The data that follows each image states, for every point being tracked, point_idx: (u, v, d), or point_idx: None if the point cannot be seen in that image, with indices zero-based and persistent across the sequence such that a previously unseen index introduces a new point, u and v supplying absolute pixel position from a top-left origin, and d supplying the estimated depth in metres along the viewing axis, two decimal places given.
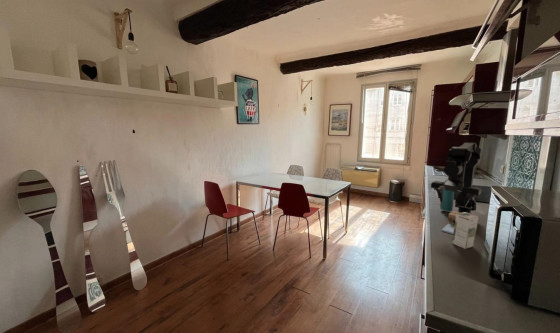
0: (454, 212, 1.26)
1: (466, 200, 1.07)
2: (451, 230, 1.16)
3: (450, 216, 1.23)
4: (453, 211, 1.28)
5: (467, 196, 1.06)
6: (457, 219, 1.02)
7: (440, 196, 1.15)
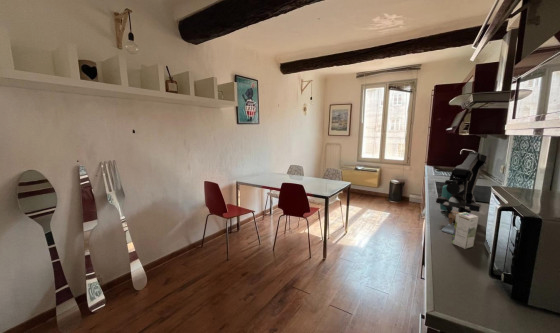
0: (454, 212, 1.26)
1: None
2: (451, 230, 1.16)
3: (450, 216, 1.23)
4: (453, 211, 1.28)
5: (464, 211, 1.20)
6: (457, 219, 1.02)
7: (449, 211, 1.26)
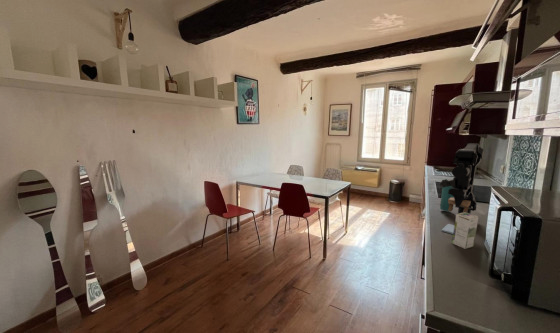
0: None
1: None
2: (451, 230, 1.16)
3: None
4: (466, 200, 1.14)
5: None
6: (457, 219, 1.02)
7: None
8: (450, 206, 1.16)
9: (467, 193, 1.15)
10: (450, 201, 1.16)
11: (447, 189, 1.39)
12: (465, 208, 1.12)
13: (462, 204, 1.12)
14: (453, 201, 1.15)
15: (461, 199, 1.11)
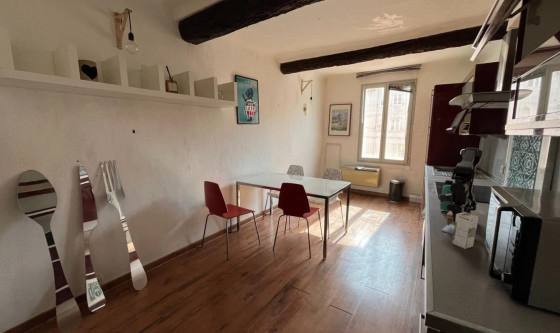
0: None
1: None
2: (451, 230, 1.16)
3: None
4: None
5: None
6: (457, 219, 1.02)
7: None
8: (448, 220, 1.17)
9: (465, 208, 1.16)
10: (448, 216, 1.17)
11: (447, 189, 1.39)
12: None
13: None
14: (451, 216, 1.16)
15: None
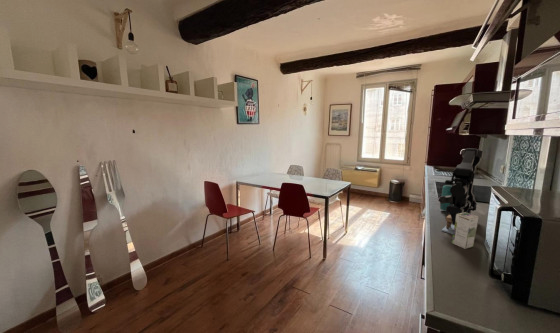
0: None
1: None
2: (451, 230, 1.16)
3: None
4: None
5: None
6: (457, 219, 1.02)
7: None
8: (448, 224, 1.18)
9: (466, 209, 1.17)
10: (448, 219, 1.17)
11: (447, 189, 1.39)
12: None
13: None
14: (451, 219, 1.16)
15: None
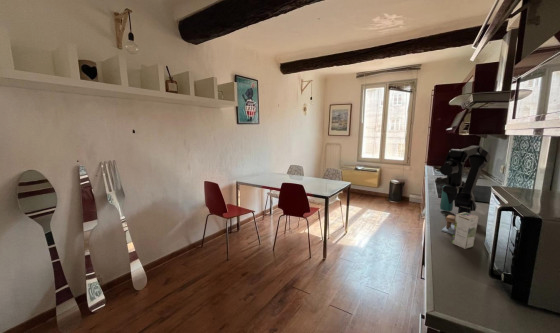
0: None
1: None
2: (451, 230, 1.16)
3: None
4: None
5: None
6: (457, 219, 1.02)
7: None
8: (448, 224, 1.18)
9: (461, 189, 1.24)
10: (448, 219, 1.17)
11: None
12: None
13: None
14: (451, 219, 1.16)
15: (453, 196, 1.18)
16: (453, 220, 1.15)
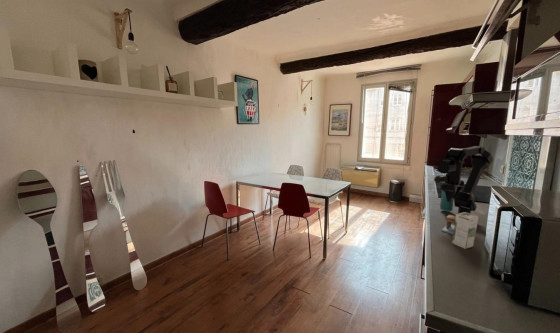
0: None
1: None
2: (451, 230, 1.16)
3: None
4: None
5: None
6: (457, 219, 1.02)
7: None
8: (448, 224, 1.18)
9: (459, 187, 1.25)
10: (448, 219, 1.17)
11: None
12: None
13: None
14: (451, 219, 1.16)
15: (451, 194, 1.19)
16: (453, 220, 1.15)
